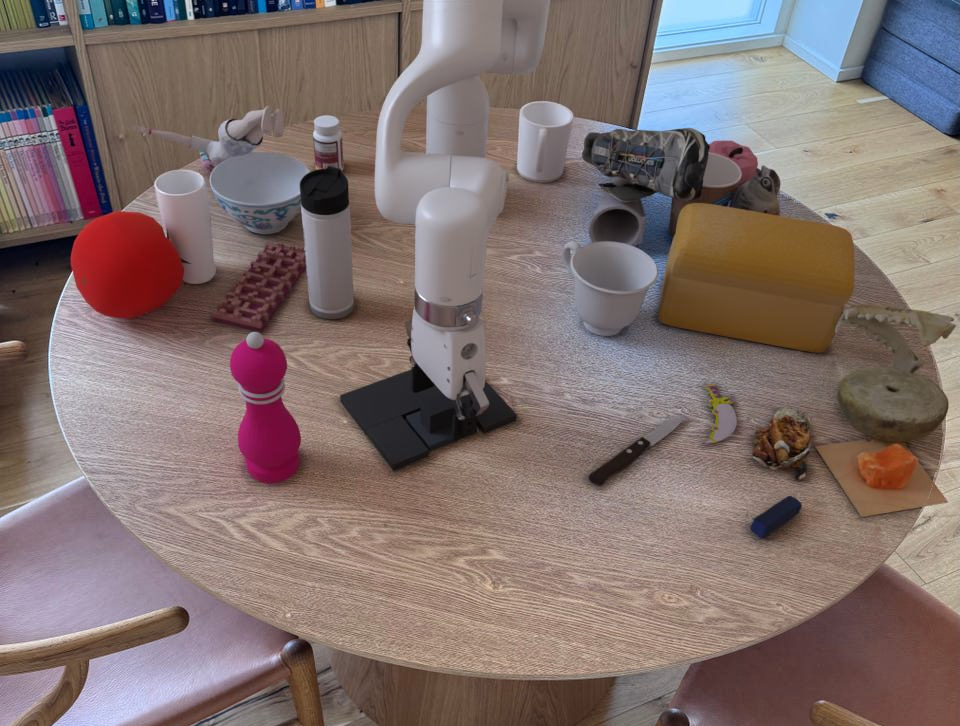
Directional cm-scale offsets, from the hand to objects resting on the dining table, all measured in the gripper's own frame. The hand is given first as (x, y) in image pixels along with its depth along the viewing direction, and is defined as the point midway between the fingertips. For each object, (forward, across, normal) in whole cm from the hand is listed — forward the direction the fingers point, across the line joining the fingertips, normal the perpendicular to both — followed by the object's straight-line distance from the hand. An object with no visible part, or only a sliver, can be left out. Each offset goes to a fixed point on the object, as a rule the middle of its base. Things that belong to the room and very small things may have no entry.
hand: (443, 411), depth 116 cm
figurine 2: (0, +12, -60) cm, 61 cm away
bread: (+3, -1, -51) cm, 51 cm away
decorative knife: (+3, -17, -35) cm, 39 cm away
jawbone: (-4, -17, -62) cm, 64 cm away
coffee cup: (+3, +18, -58) cm, 61 cm away
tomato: (-4, +41, +32) cm, 52 cm away
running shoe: (-9, +21, -54) cm, 58 cm away
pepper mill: (+3, +4, +21) cm, 22 cm away
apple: (+3, +26, -71) cm, 76 cm away
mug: (+3, +46, -47) cm, 65 cm away
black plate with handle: (+3, 0, 0) cm, 3 cm away
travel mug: (+3, +29, +1) cm, 29 cm away
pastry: (+5, -25, -37) cm, 45 cm away
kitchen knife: (+2, -16, -20) cm, 26 cm away
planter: (+3, +31, -51) cm, 60 cm away
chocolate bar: (+3, +37, +7) cm, 38 cm away
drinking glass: (+3, +44, +15) cm, 47 cm away
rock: (+6, -33, -42) cm, 54 cm away
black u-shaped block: (+3, +4, 0) cm, 5 cm away
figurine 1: (-17, +48, -1) cm, 51 cm away
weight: (-3, -27, -52) cm, 59 cm away
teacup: (+3, +8, -31) cm, 32 cm away
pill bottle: (+3, +63, -16) cm, 65 cm away
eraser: (+1, -32, -30) cm, 44 cm away
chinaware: (+3, +52, 0) cm, 52 cm away
